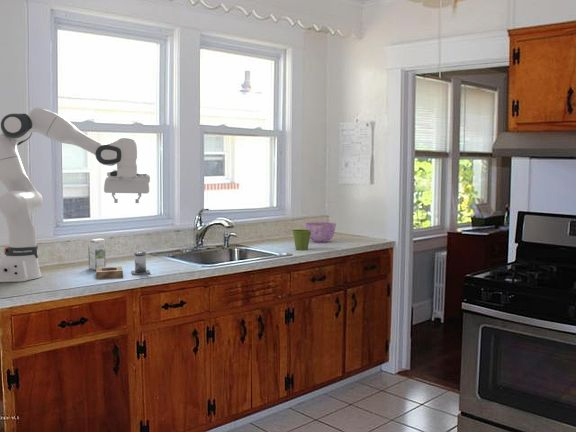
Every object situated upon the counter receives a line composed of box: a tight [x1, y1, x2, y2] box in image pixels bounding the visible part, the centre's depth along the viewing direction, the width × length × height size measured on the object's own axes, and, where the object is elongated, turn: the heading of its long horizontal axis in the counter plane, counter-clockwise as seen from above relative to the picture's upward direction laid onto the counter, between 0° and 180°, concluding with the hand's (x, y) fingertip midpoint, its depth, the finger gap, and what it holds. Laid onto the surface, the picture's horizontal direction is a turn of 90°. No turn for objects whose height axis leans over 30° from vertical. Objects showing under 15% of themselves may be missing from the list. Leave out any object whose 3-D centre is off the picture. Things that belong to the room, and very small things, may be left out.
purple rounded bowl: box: [305, 221, 337, 243], centre depth 378 cm, size 20×20×12 cm
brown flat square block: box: [95, 266, 124, 280], centre depth 265 cm, size 11×11×3 cm
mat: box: [131, 269, 151, 276], centre depth 272 cm, size 8×8×1 cm
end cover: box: [133, 251, 147, 273], centre depth 271 cm, size 6×6×9 cm
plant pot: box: [291, 228, 312, 251], centre depth 345 cm, size 12×12×11 cm
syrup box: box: [88, 237, 107, 271], centre depth 282 cm, size 6×6×14 cm
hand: (126, 203), depth 271 cm, fingers open, 8 cm apart
